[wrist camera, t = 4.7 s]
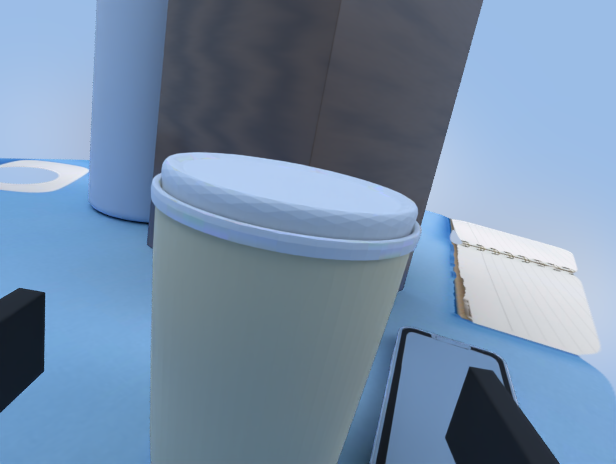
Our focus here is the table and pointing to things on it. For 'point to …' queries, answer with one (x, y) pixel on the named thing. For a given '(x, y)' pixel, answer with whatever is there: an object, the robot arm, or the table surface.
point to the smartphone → (426, 396)
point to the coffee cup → (267, 306)
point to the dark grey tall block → (316, 85)
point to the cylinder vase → (126, 105)
